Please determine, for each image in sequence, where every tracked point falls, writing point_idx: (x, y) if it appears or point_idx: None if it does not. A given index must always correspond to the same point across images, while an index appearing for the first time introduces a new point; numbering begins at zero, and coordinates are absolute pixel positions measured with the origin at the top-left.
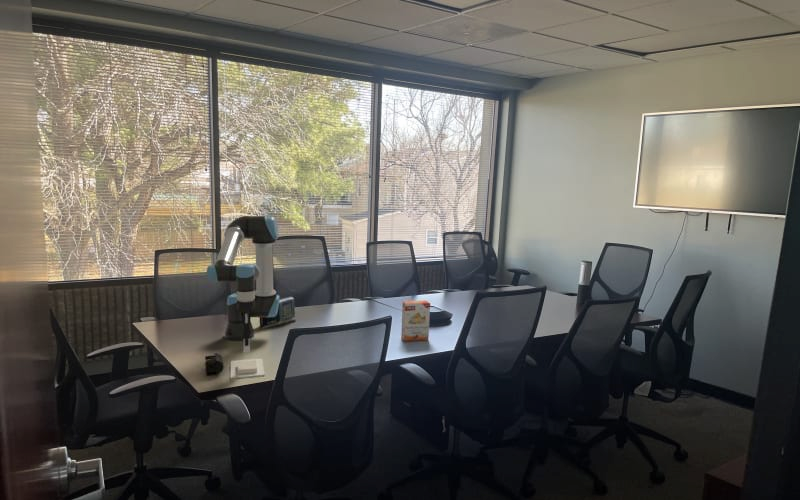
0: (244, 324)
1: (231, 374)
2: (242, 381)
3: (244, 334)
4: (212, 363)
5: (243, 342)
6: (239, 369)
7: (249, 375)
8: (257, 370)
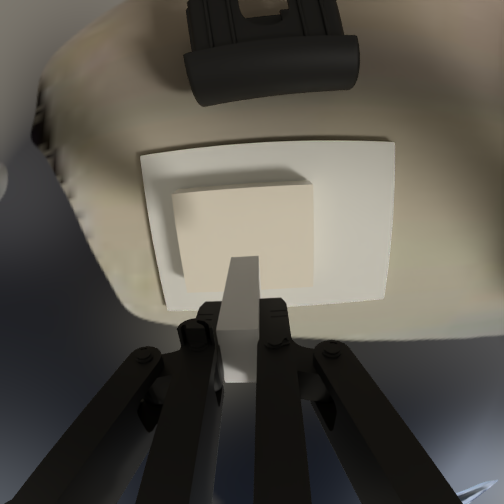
0: (25, 501)
1: (183, 155)
2: (112, 216)
3: (106, 392)
4: (192, 38)
5: (221, 304)
6: (178, 203)
7: (159, 248)
8: None
